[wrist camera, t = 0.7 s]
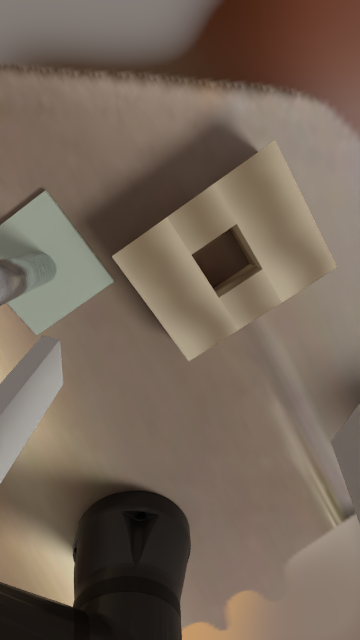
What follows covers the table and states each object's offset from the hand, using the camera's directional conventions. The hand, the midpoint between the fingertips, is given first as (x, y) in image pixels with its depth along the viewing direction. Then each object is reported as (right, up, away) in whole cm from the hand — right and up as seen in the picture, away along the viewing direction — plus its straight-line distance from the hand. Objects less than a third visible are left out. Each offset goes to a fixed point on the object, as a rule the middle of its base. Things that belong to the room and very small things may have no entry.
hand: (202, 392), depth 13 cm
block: (+3, +10, +16) cm, 19 cm away
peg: (-15, +8, +15) cm, 23 cm away
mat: (-15, +8, +16) cm, 23 cm away
